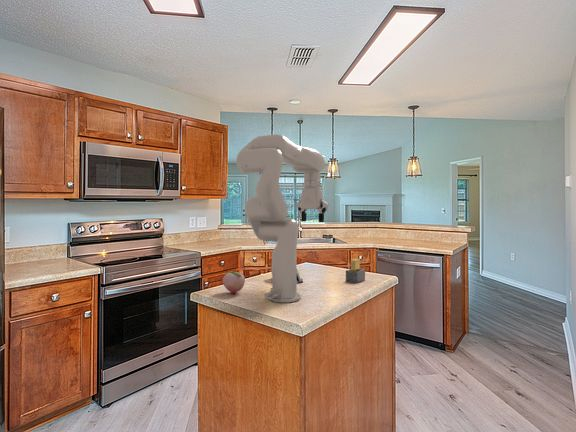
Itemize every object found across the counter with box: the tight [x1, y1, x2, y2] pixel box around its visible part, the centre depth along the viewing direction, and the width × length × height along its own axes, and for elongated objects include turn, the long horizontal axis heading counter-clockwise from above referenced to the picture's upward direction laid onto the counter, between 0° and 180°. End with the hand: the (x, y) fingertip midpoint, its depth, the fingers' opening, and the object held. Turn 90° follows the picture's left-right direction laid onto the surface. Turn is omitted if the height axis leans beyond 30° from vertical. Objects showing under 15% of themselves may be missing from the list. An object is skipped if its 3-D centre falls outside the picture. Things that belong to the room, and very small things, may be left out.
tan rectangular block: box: [350, 258, 361, 271], centre depth 160 cm, size 4×2×10 cm, turn 142°
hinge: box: [270, 265, 304, 285], centre depth 161 cm, size 17×5×10 cm, turn 44°
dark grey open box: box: [345, 268, 366, 284], centre depth 160 cm, size 8×6×5 cm
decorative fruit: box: [222, 268, 246, 294], centre depth 140 cm, size 9×8×10 cm
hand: (312, 221), depth 156 cm, fingers open, 9 cm apart
